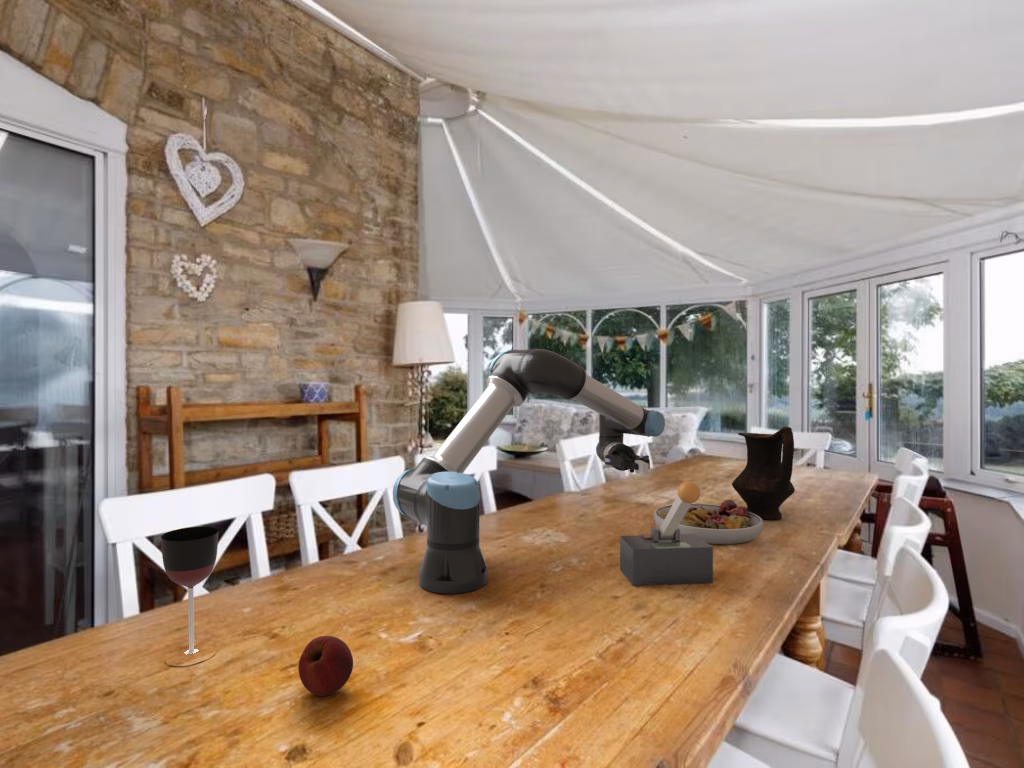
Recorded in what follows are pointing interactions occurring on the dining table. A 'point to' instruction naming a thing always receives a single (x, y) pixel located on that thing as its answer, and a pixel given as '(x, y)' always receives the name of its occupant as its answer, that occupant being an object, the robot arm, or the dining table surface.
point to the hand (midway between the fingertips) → (645, 469)
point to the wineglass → (189, 562)
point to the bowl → (716, 522)
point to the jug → (767, 472)
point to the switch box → (666, 559)
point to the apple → (325, 665)
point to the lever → (679, 509)
